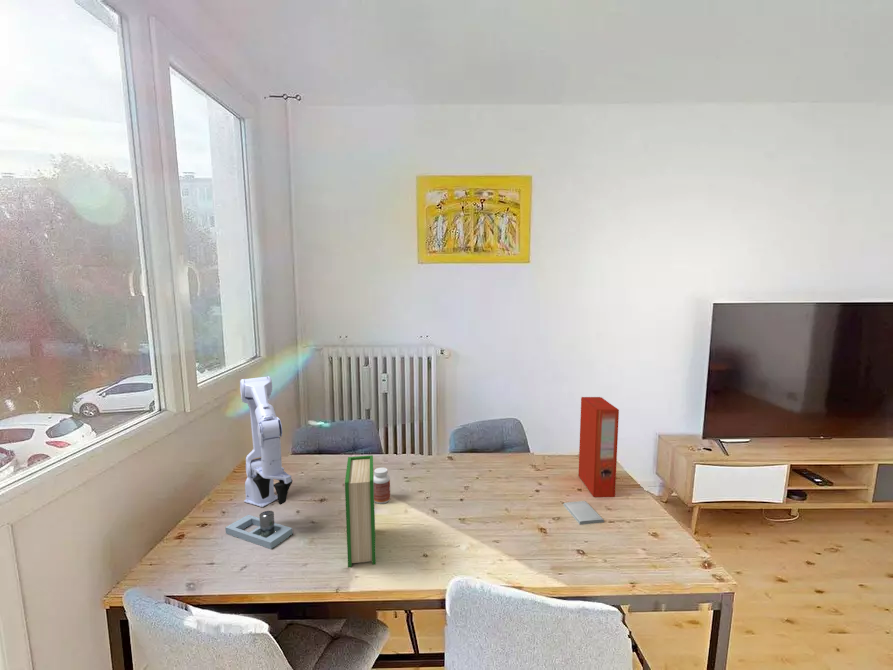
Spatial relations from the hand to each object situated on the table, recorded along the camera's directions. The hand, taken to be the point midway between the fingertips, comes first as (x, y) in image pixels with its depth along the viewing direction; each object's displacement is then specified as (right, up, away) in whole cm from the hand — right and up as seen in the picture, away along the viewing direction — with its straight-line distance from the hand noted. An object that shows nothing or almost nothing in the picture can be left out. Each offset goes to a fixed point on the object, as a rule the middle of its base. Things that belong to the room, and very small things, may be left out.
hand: (273, 500), depth 138 cm
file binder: (+110, -5, +28) cm, 114 cm away
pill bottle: (+31, -7, +19) cm, 37 cm away
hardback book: (+29, -10, -9) cm, 33 cm away
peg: (0, -10, -3) cm, 10 cm away
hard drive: (+99, -8, +8) cm, 100 cm away
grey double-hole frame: (-4, -10, -2) cm, 11 cm away
